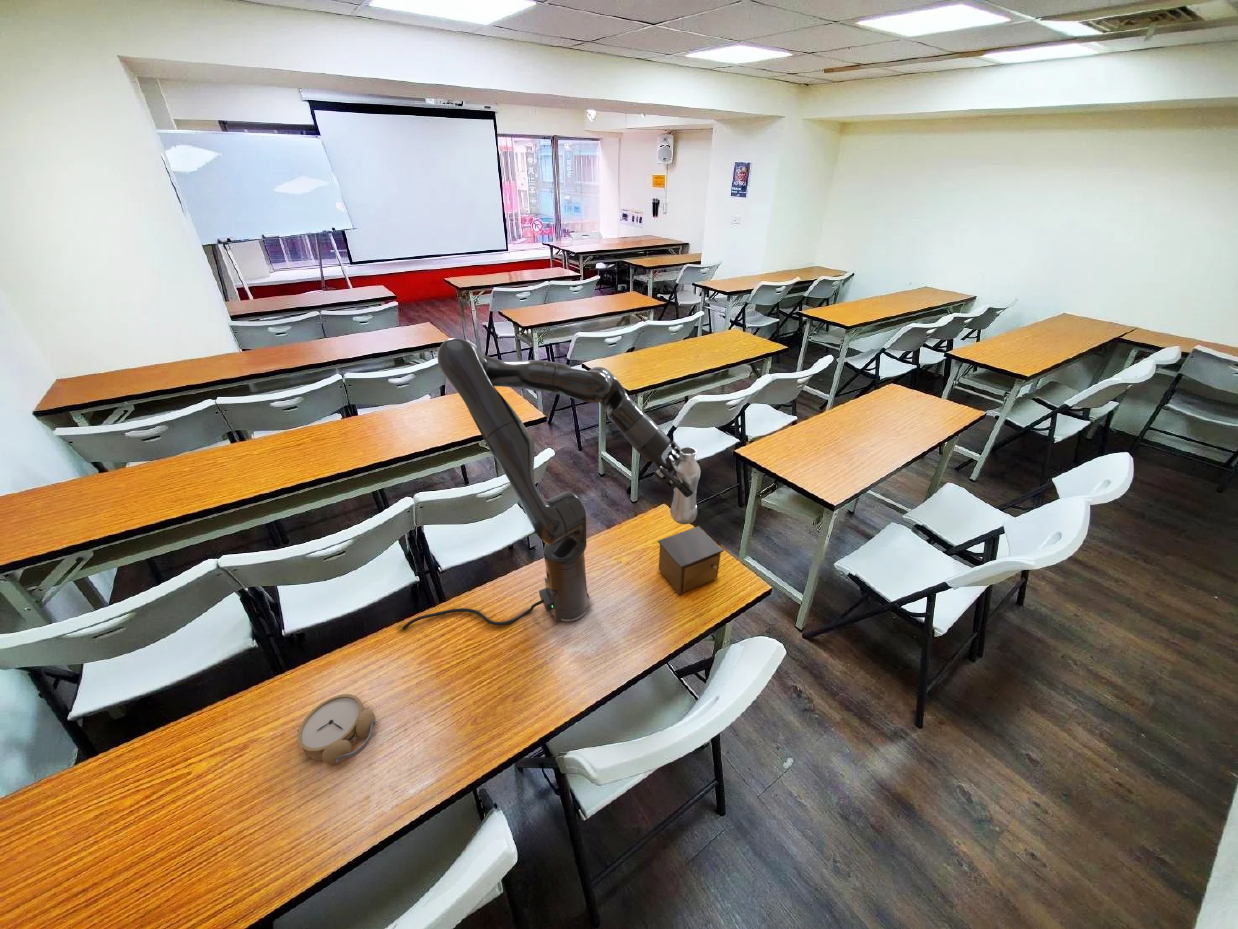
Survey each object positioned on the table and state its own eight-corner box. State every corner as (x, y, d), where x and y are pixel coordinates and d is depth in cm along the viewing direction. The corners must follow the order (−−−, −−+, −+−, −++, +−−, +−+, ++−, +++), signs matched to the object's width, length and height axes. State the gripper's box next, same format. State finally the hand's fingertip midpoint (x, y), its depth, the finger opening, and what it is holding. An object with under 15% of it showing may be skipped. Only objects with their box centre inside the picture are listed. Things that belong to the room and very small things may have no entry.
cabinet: (680, 601, 118) (683, 569, 112) (656, 571, 127) (657, 540, 121) (721, 583, 123) (725, 552, 117) (695, 556, 132) (698, 525, 126)
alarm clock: (337, 685, 97) (383, 709, 89) (348, 701, 99) (393, 725, 92) (283, 735, 88) (329, 765, 81) (296, 750, 90) (342, 781, 83)
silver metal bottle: (695, 529, 115) (702, 459, 104) (668, 526, 116) (672, 456, 105) (697, 513, 120) (703, 445, 109) (671, 510, 121) (674, 442, 111)
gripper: (642, 431, 117) (686, 479, 120) (626, 460, 105) (675, 511, 108) (664, 415, 113) (709, 464, 116) (649, 442, 101) (699, 496, 104)
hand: (692, 487), depth 112 cm, fingers closed on silver metal bottle, 6 cm apart
